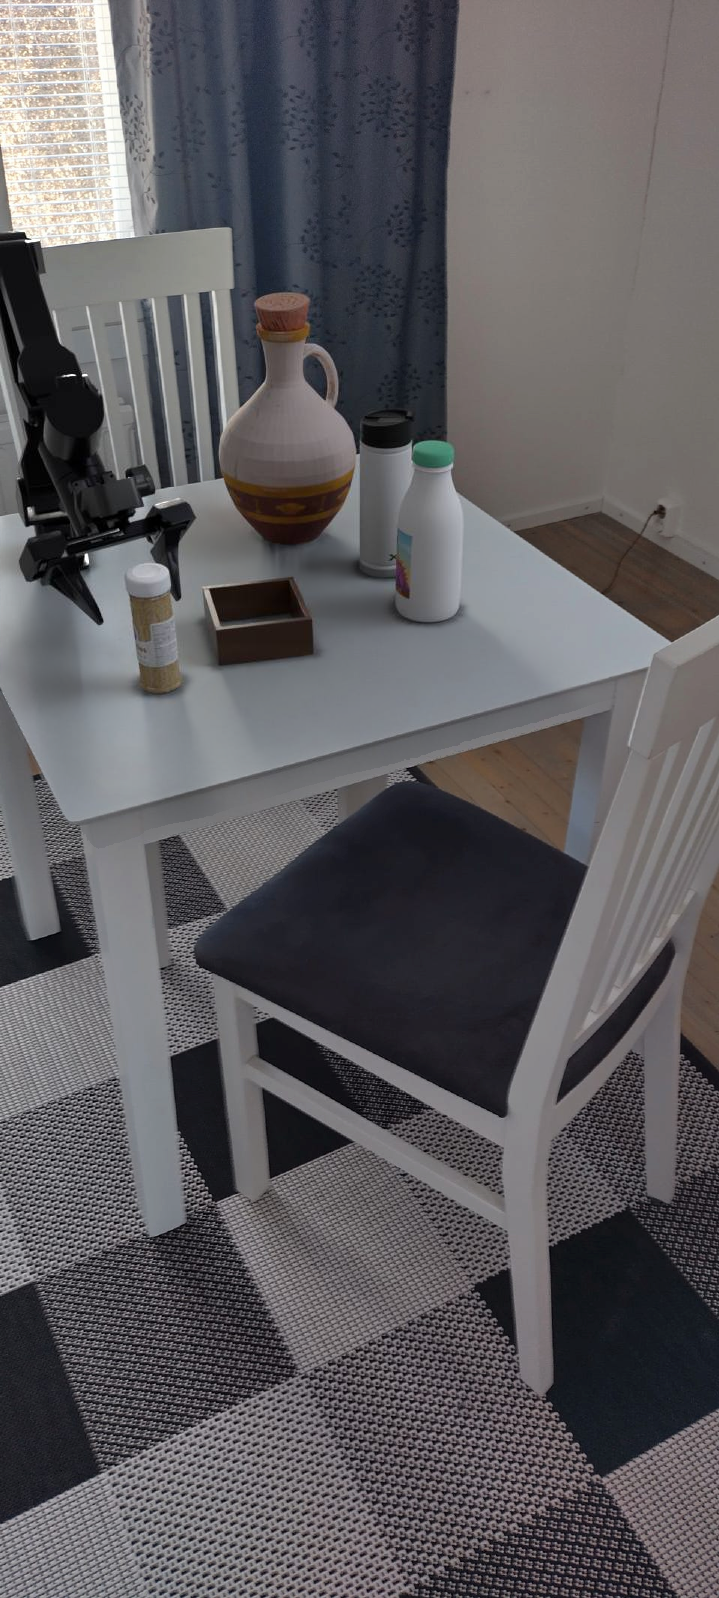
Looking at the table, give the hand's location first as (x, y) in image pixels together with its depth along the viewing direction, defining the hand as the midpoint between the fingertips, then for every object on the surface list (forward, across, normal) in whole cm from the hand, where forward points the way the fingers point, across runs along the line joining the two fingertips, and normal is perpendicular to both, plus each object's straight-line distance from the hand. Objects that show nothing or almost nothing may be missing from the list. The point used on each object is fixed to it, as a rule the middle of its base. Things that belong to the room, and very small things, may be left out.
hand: (140, 611), depth 125 cm
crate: (+6, +14, +5) cm, 16 cm away
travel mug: (+2, +37, +9) cm, 38 cm away
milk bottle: (+10, +34, +1) cm, 36 cm away
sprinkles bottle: (+8, 0, +3) cm, 8 cm away
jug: (-10, +34, +21) cm, 41 cm away
